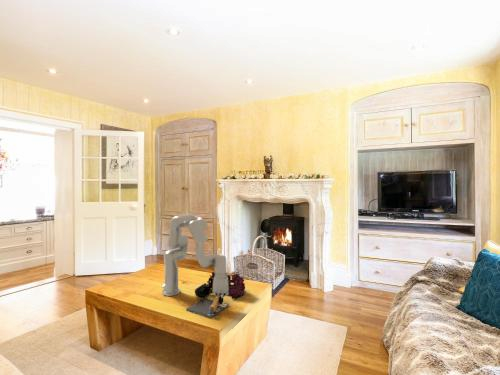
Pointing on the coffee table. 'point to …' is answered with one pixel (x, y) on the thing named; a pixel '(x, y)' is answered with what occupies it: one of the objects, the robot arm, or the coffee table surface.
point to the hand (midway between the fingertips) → (220, 303)
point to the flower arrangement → (235, 289)
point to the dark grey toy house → (202, 291)
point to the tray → (206, 308)
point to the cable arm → (213, 306)
